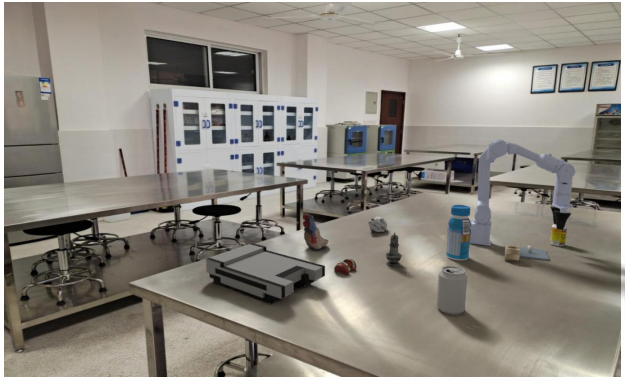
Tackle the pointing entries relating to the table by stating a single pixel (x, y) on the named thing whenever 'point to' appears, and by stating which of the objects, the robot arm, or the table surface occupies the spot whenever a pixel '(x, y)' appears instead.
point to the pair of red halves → (345, 266)
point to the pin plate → (533, 253)
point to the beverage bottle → (459, 233)
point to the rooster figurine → (312, 233)
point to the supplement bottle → (558, 236)
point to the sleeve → (512, 253)
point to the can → (452, 290)
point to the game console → (262, 272)
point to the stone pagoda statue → (393, 252)
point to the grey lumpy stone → (377, 224)
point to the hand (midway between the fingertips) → (558, 226)
